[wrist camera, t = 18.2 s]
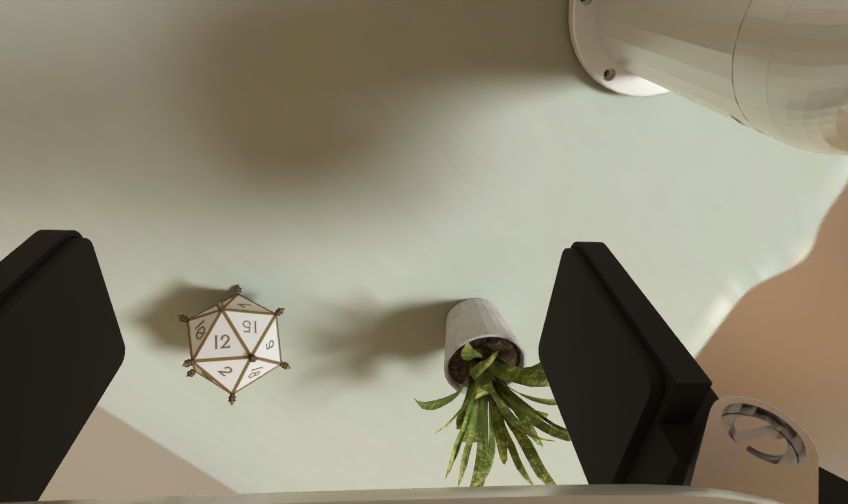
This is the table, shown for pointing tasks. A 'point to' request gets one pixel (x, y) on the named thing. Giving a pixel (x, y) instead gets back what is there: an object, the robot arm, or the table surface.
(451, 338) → the house plant
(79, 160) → the table surface
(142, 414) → the table surface
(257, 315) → the game die
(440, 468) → the table surface
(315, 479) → the table surface
